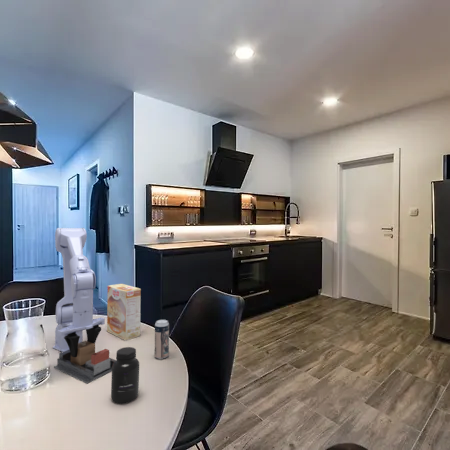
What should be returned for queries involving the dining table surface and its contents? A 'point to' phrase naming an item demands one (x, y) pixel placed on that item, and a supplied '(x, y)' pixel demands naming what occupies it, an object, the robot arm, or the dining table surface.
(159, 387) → the dining table surface
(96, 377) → the grey tray
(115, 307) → the coffeecake box
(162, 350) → the beer can
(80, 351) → the wooden block
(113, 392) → the supplement bottle
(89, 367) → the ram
